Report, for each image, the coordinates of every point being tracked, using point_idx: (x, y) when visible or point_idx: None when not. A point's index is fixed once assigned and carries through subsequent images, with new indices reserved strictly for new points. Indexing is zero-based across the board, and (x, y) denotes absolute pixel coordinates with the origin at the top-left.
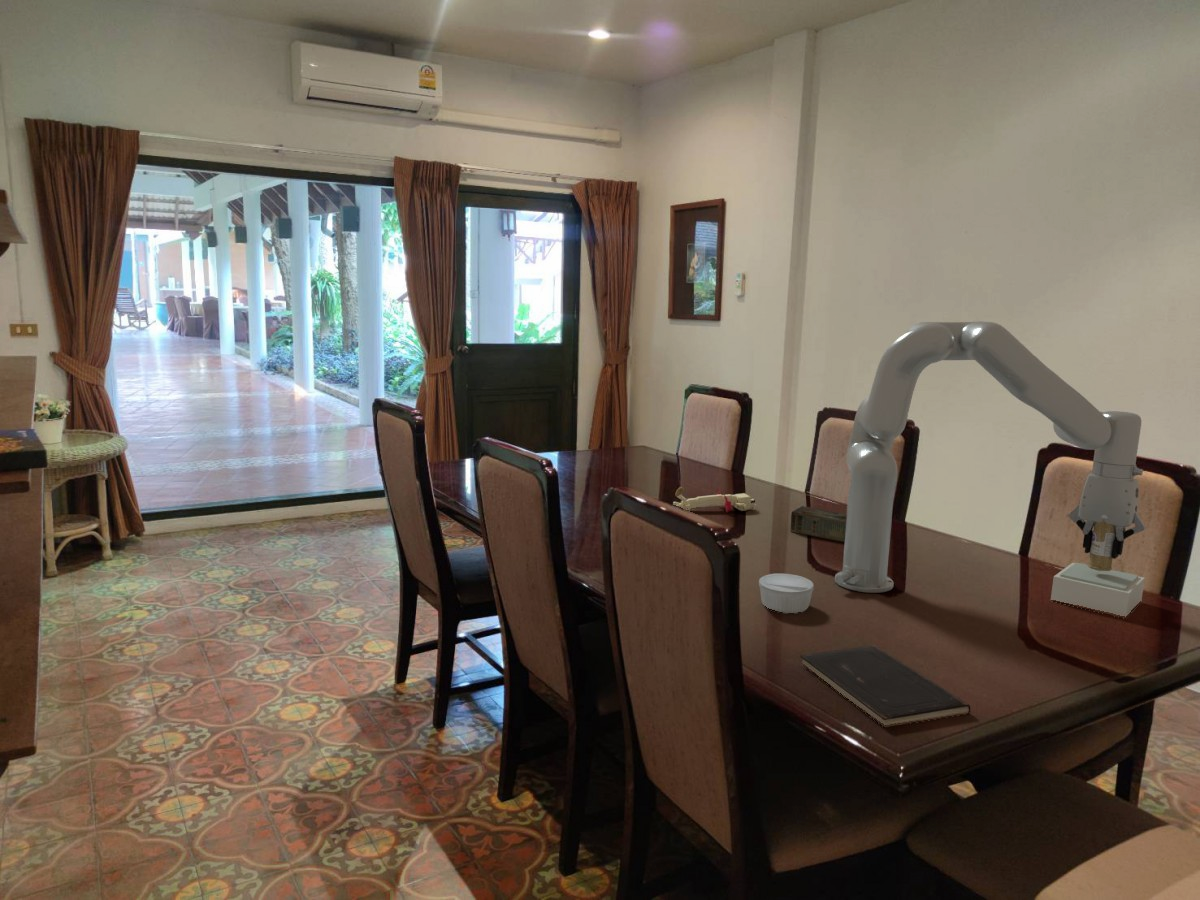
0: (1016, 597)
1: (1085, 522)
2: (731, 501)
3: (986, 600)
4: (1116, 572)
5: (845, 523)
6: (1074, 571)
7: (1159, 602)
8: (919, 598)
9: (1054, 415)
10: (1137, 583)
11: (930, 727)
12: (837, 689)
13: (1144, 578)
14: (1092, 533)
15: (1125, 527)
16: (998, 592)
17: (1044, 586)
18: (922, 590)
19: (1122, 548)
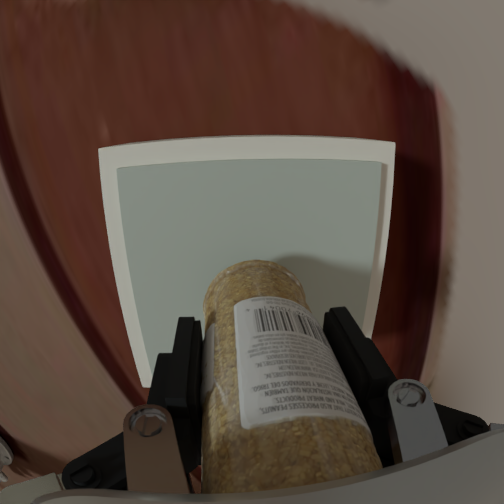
0: (96, 365)
1: (118, 487)
2: None
3: (83, 414)
4: (302, 190)
5: None
6: (167, 318)
7: (391, 99)
8: (40, 450)
9: None
10: (383, 251)
11: None
12: None
13: (393, 145)
14: (190, 423)
15: (446, 446)
16: (58, 359)
17: (83, 219)
18: (12, 421)
19: (378, 355)
